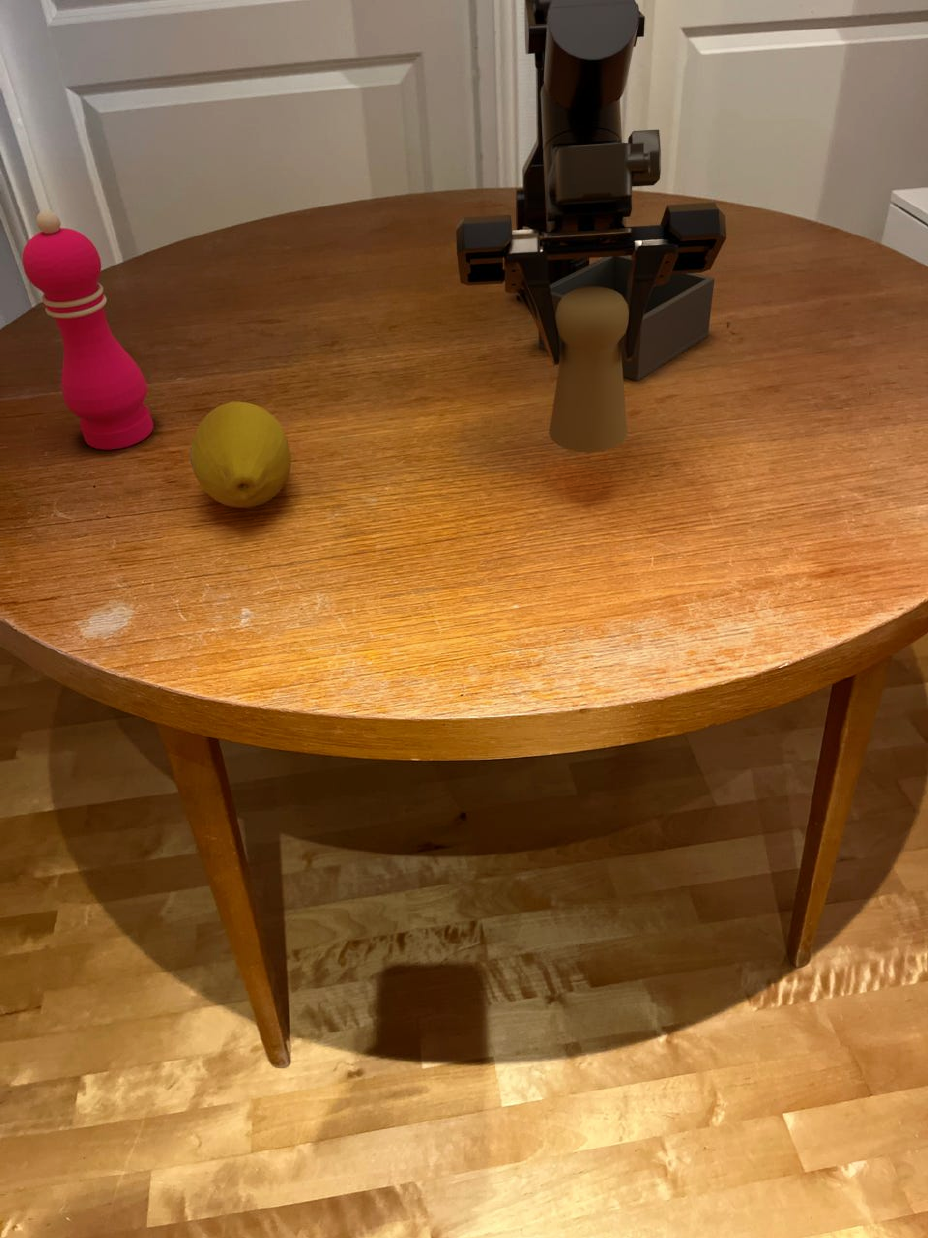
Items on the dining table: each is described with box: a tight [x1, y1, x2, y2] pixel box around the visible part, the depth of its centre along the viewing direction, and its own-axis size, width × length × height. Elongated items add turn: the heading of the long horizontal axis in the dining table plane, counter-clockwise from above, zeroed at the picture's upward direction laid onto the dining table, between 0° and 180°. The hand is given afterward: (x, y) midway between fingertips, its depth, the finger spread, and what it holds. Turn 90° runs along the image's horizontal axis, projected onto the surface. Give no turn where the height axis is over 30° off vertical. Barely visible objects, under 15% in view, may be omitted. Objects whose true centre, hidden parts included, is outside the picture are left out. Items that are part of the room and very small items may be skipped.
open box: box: [538, 256, 715, 382], centre depth 94 cm, size 12×12×6 cm
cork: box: [548, 286, 629, 454], centre depth 70 cm, size 6×6×11 cm
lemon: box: [190, 401, 292, 509], centre depth 76 cm, size 11×8×8 cm
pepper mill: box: [22, 210, 154, 451], centre depth 82 cm, size 7×7×20 cm
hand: (592, 361), depth 68 cm, fingers closed on cork, 5 cm apart
